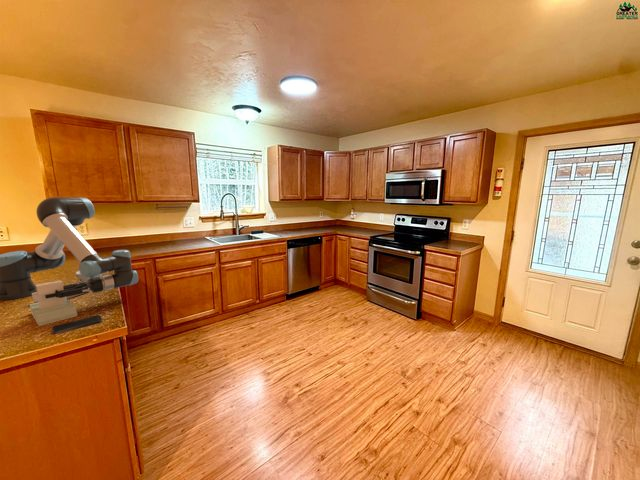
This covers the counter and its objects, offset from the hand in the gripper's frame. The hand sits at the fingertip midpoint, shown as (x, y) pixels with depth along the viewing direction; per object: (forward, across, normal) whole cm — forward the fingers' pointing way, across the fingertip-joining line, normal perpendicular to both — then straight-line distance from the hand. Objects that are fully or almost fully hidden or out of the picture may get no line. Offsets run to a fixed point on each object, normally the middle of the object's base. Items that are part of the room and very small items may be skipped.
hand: (33, 297), depth 112 cm
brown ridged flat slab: (-10, +24, -10) cm, 28 cm away
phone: (-9, -21, -11) cm, 25 cm away
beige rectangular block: (-5, 0, -7) cm, 9 cm away
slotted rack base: (-5, 0, -10) cm, 11 cm away
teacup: (-29, +43, -10) cm, 53 cm away
